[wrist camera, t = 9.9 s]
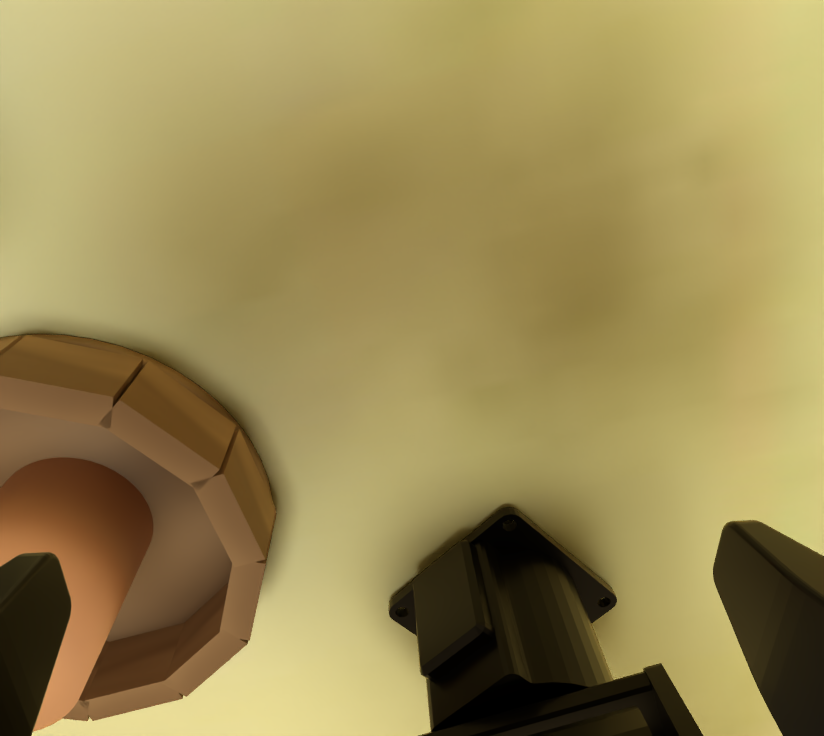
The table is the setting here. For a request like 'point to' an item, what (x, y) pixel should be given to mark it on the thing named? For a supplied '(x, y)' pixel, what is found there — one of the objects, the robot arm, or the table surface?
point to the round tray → (166, 497)
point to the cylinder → (77, 555)
